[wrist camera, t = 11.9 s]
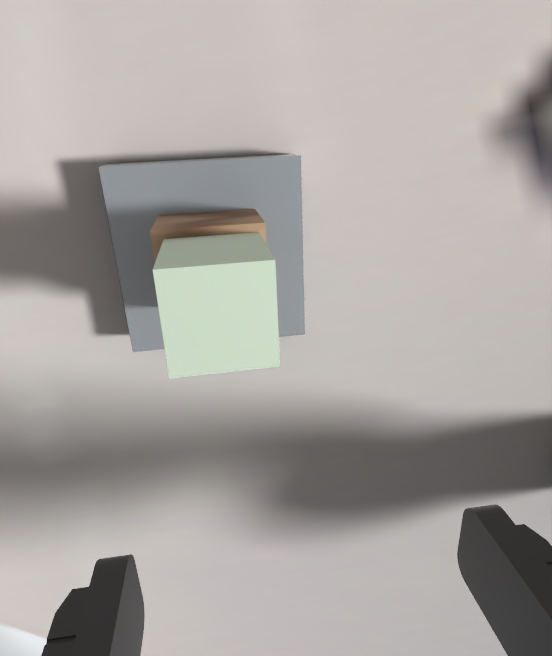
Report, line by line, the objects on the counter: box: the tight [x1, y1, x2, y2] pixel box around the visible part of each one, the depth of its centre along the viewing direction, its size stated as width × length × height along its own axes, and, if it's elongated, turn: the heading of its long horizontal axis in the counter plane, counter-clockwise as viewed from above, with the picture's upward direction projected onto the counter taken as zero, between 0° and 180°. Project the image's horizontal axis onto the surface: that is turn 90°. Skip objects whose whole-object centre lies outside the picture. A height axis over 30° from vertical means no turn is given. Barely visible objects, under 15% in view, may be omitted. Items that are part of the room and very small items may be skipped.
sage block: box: [153, 232, 280, 378], centre depth 22 cm, size 5×5×6 cm
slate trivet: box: [99, 154, 305, 352], centre depth 31 cm, size 12×12×3 cm
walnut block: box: [150, 209, 266, 262], centre depth 28 cm, size 6×6×5 cm
